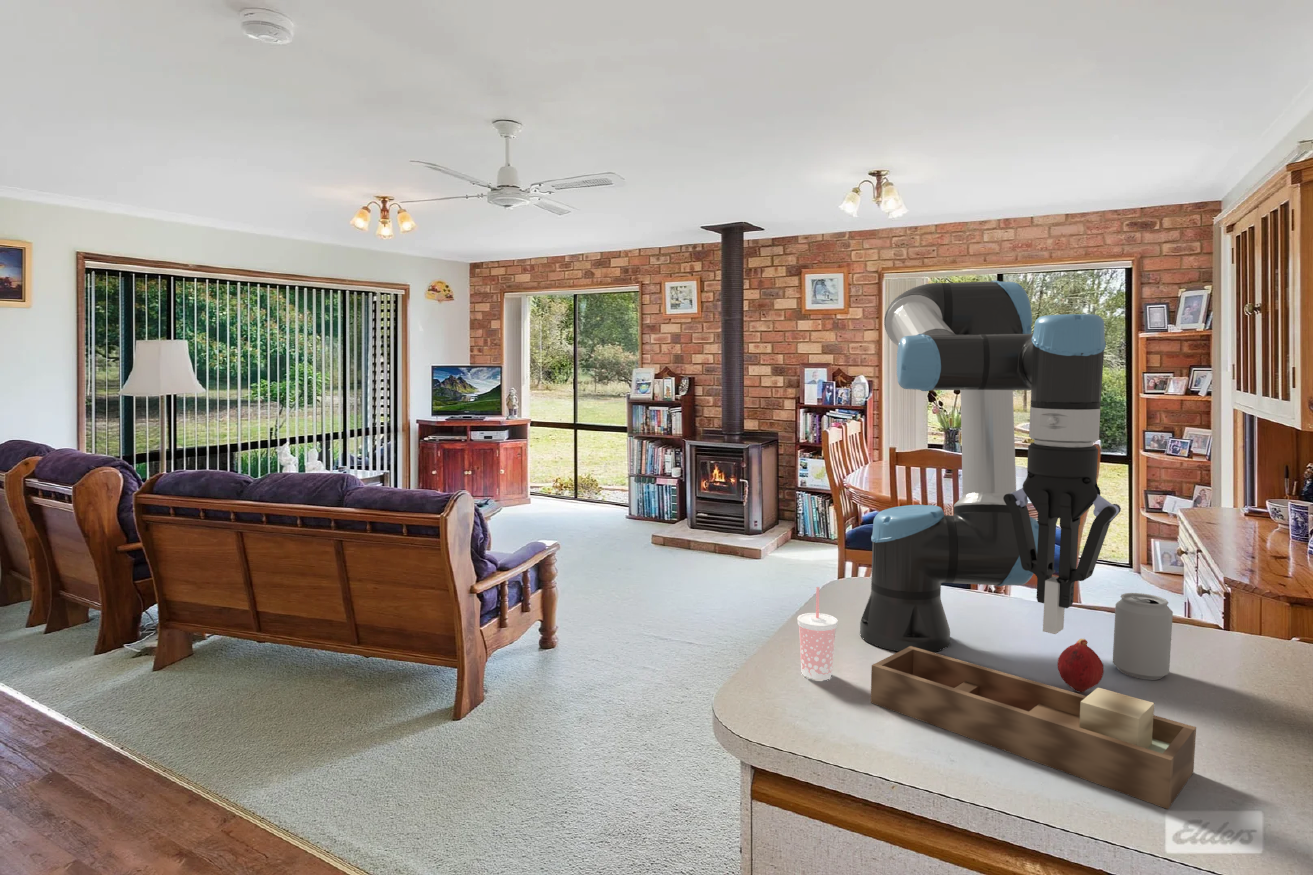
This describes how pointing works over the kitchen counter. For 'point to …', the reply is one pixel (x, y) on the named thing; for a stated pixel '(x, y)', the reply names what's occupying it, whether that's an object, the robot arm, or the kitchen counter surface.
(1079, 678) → the onion
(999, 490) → the robot arm
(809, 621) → the beverage cup
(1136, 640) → the can
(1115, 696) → the maple block
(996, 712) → the wooden compartment tray
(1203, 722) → the kitchen counter surface
